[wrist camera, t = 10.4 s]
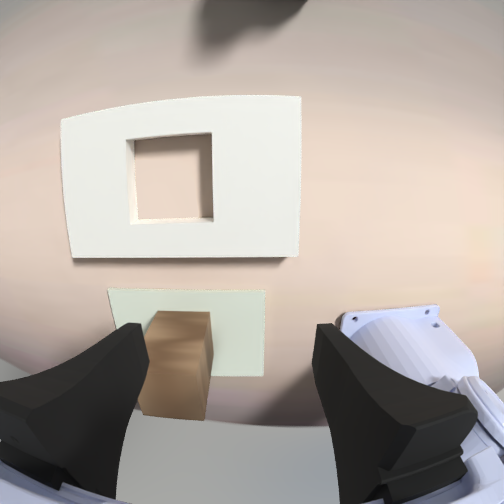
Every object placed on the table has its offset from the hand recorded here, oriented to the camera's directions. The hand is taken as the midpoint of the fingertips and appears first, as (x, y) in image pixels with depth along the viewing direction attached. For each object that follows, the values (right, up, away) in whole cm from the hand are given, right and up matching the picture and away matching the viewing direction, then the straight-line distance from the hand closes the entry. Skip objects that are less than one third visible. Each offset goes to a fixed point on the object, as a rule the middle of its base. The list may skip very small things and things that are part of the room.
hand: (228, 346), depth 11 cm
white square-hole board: (-4, +9, +7) cm, 12 cm away
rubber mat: (-4, -3, +11) cm, 12 cm away
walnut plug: (-4, -3, +10) cm, 11 cm away
